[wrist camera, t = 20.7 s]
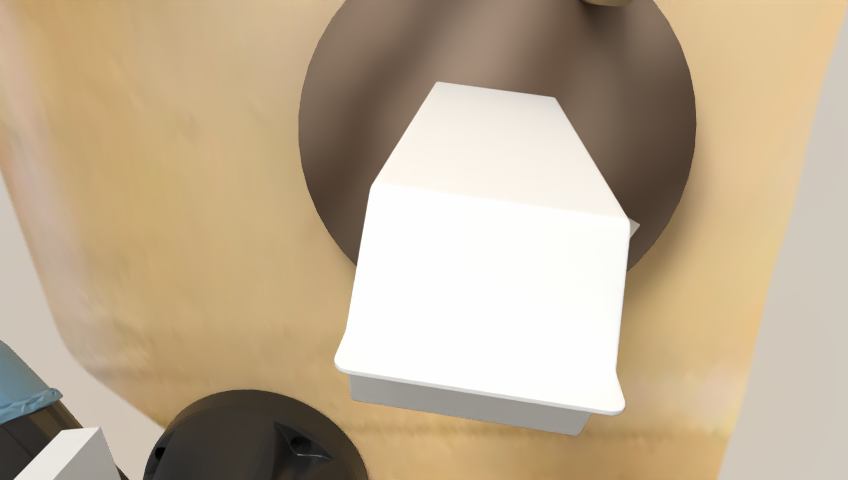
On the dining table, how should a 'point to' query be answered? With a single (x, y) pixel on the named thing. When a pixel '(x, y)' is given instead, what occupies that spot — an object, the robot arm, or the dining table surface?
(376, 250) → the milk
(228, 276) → the dining table surface
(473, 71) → the turntable
